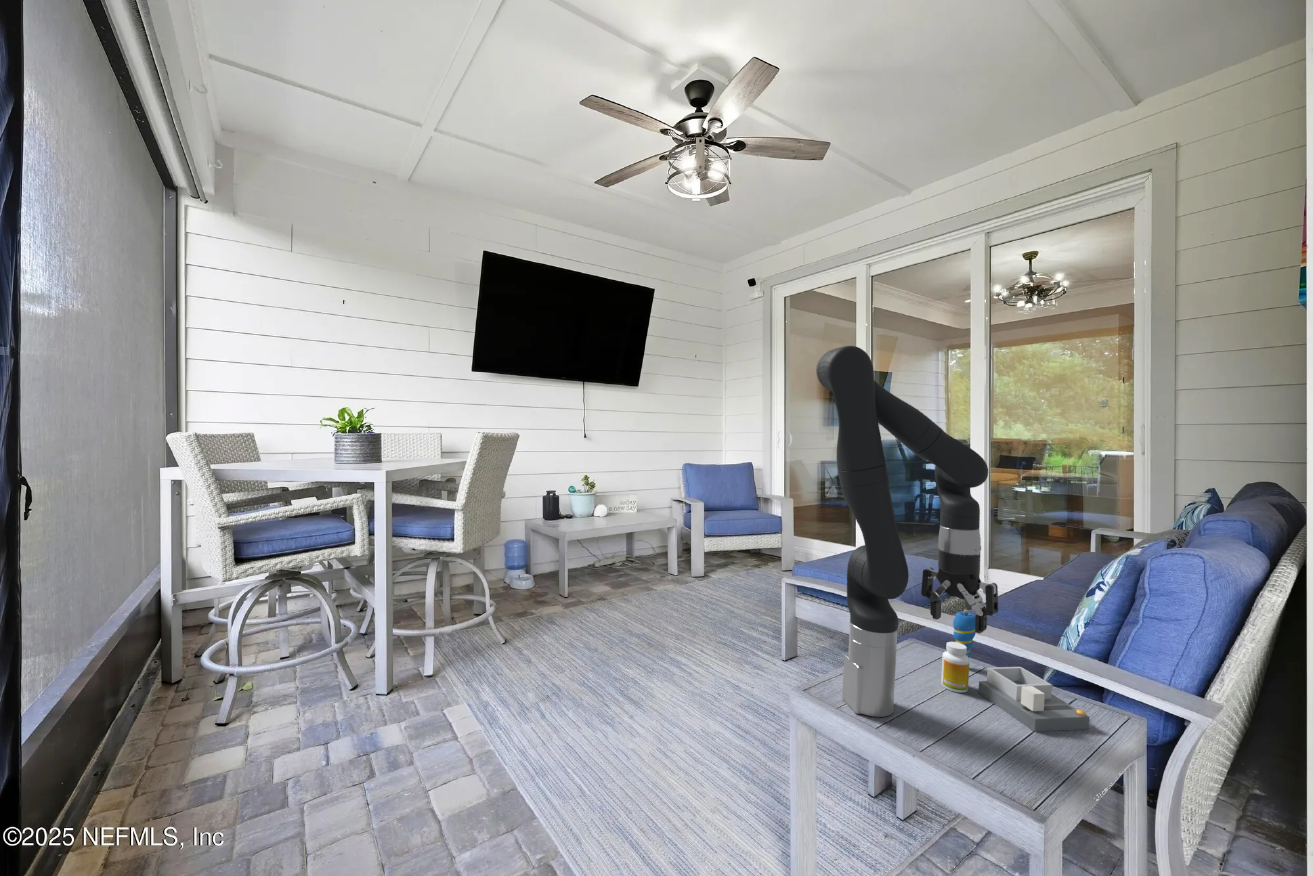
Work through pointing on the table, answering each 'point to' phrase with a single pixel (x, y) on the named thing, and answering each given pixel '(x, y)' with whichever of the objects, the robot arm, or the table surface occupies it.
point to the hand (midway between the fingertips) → (957, 625)
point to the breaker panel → (1007, 695)
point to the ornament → (964, 629)
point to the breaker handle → (1032, 698)
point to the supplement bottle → (955, 668)
